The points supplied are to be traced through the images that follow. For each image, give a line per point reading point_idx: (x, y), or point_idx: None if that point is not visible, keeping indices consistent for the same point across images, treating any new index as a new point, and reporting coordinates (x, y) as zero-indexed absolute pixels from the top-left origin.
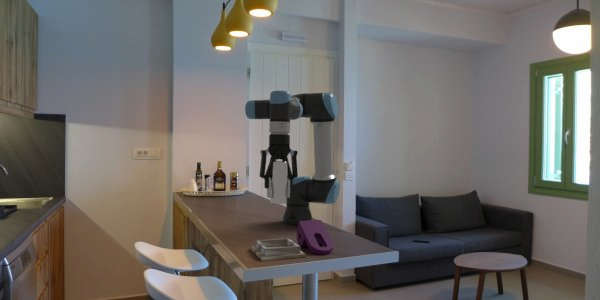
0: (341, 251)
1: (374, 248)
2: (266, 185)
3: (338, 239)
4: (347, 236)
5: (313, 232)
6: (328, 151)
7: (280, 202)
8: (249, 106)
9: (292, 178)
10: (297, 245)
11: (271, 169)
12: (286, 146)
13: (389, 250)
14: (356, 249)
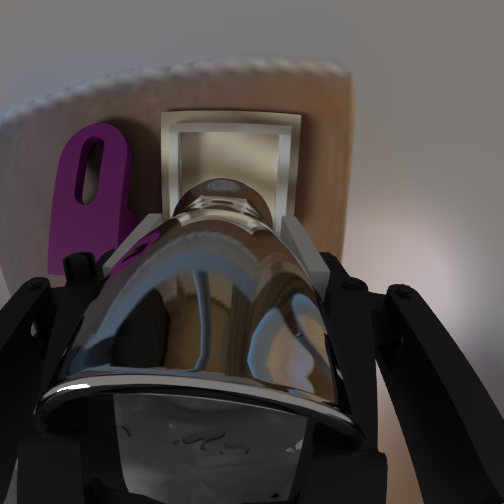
0: (55, 148)
1: None
2: (331, 264)
3: (35, 264)
4: (16, 283)
5: (91, 208)
6: None
7: (225, 179)
8: None
9: (78, 256)
10: (173, 138)
11: (340, 346)
12: None
13: None
14: (21, 161)
